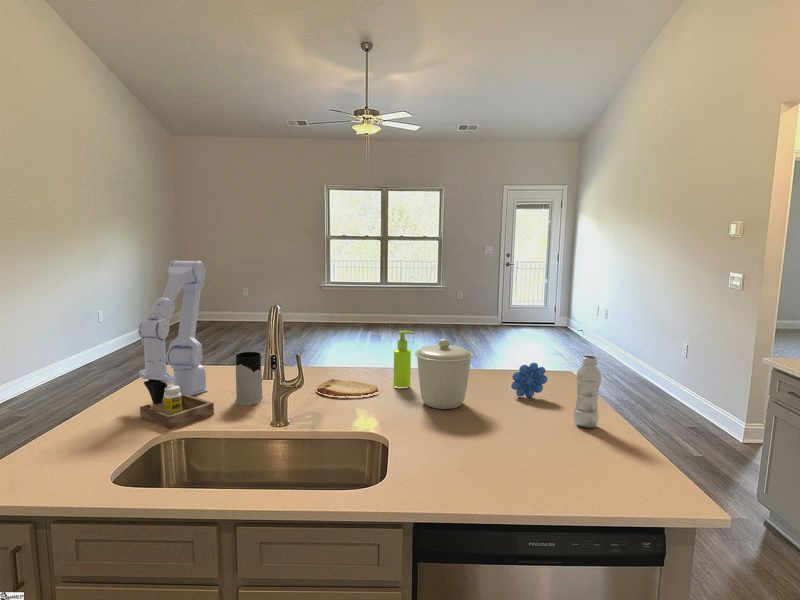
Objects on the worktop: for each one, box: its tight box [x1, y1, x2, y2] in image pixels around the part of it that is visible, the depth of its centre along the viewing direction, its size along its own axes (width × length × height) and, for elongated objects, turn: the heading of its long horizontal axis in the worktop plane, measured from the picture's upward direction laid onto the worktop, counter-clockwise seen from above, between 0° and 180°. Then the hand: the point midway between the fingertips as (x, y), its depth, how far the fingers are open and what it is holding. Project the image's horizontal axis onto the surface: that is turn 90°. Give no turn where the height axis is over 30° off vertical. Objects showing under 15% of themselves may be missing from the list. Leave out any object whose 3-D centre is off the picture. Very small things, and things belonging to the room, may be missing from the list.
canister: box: [414, 338, 474, 410], centre depth 155 cm, size 18×18×21 cm
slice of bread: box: [316, 378, 380, 397], centre depth 167 cm, size 18×18×4 cm
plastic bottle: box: [573, 355, 602, 429], centre depth 138 cm, size 6×7×20 cm
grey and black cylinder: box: [235, 351, 265, 406], centre depth 159 cm, size 9×14×15 cm, turn 159°
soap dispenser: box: [393, 330, 415, 387], centre depth 173 cm, size 6×7×20 cm
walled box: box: [139, 394, 215, 430], centre depth 142 cm, size 14×14×4 cm
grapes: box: [510, 362, 548, 399], centre depth 164 cm, size 12×7×12 cm, turn 85°
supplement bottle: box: [163, 385, 183, 415], centre depth 143 cm, size 5×5×8 cm
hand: (157, 403), depth 148 cm, fingers closed
